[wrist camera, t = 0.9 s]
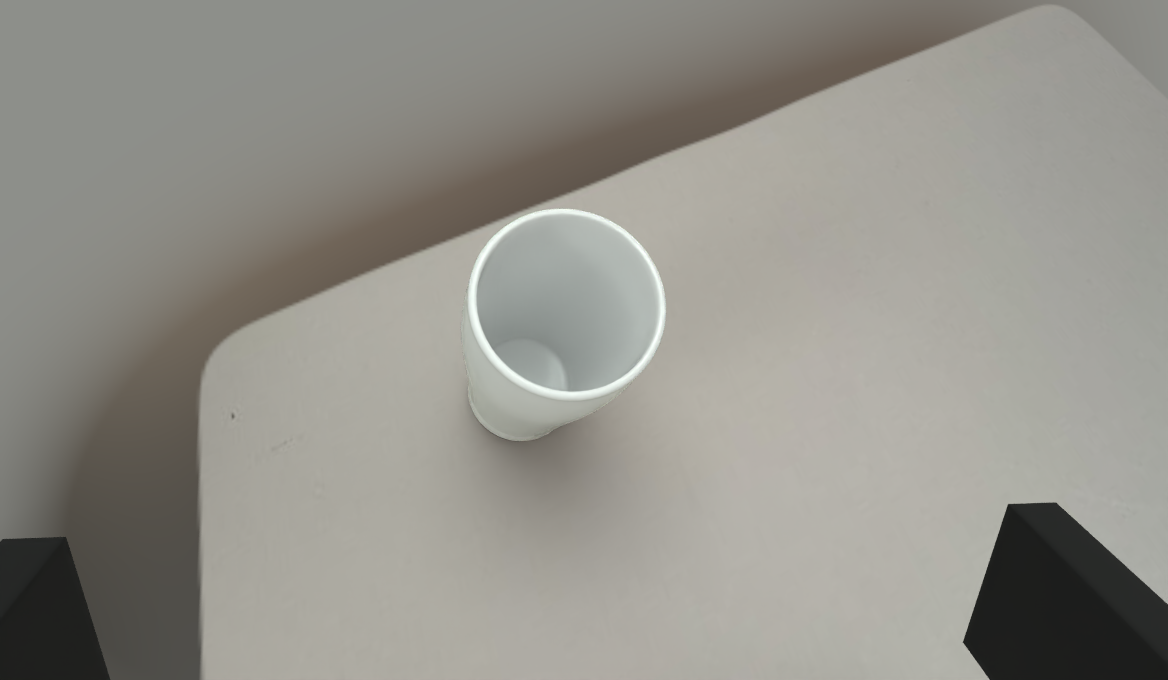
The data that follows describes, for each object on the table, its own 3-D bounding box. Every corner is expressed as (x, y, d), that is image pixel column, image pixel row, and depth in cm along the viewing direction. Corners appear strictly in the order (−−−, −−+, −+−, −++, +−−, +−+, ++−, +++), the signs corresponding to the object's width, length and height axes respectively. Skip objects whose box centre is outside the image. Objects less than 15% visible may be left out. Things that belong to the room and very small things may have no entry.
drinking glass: (461, 319, 39) (479, 188, 25) (589, 337, 40) (675, 222, 26) (443, 449, 37) (451, 388, 23) (577, 464, 38) (664, 414, 24)
